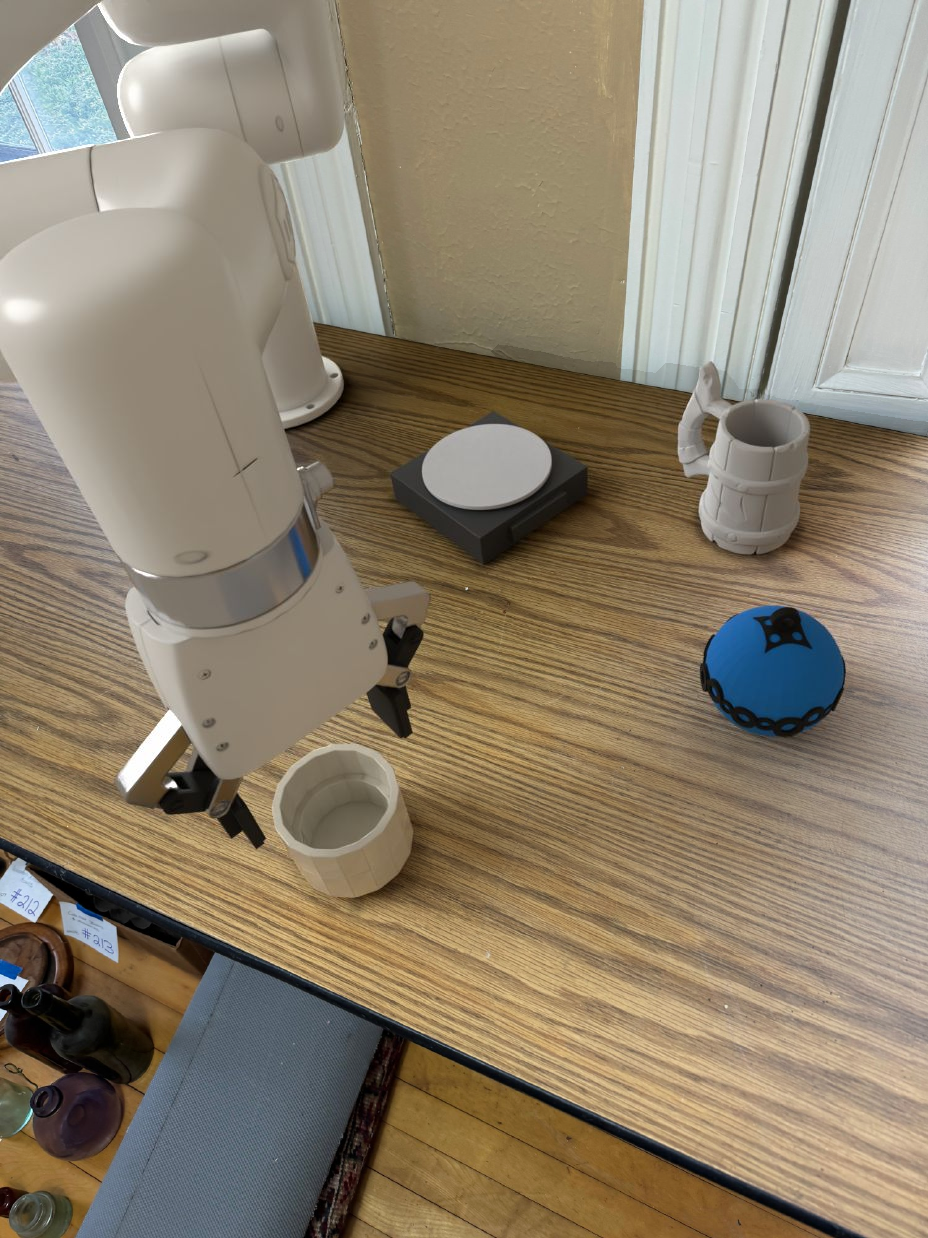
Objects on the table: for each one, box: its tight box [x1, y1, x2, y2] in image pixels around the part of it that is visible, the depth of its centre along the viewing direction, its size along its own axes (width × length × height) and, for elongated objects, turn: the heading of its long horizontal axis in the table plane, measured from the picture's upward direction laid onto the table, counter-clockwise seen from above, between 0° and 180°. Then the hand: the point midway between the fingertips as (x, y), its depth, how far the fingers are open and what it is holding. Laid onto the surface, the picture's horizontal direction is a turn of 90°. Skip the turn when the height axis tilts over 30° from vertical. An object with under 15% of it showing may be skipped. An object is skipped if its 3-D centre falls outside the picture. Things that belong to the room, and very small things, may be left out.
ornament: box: [699, 604, 847, 738], centre depth 54 cm, size 9×9×10 cm
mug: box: [677, 360, 811, 555], centre depth 66 cm, size 8×12×12 cm, turn 34°
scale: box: [389, 410, 589, 566], centre depth 73 cm, size 12×12×4 cm
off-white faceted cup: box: [271, 743, 414, 899], centre depth 52 cm, size 7×7×6 cm
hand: (322, 773), depth 47 cm, fingers open, 9 cm apart
